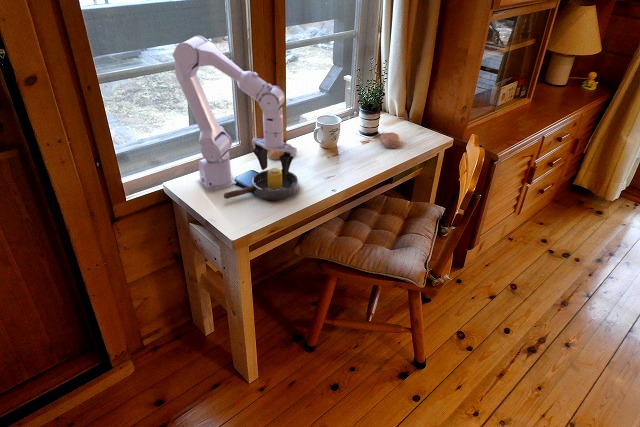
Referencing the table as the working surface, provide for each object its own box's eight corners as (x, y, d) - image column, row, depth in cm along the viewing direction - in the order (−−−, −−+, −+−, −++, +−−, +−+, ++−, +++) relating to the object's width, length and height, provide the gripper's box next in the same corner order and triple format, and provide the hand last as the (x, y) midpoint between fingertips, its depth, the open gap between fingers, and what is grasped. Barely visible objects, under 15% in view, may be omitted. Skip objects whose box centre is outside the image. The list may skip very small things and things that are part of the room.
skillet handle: (225, 200, 139) (224, 195, 138) (222, 197, 140) (222, 192, 139) (258, 191, 144) (258, 186, 143) (256, 188, 145) (255, 183, 144)
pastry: (274, 163, 163) (274, 153, 161) (263, 156, 168) (263, 146, 165) (296, 156, 168) (296, 146, 166) (285, 149, 173) (285, 140, 170)
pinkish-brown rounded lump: (373, 141, 180) (382, 144, 173) (380, 126, 179) (389, 129, 172) (389, 149, 183) (398, 152, 176) (396, 134, 182) (406, 137, 175)
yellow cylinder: (272, 193, 145) (271, 174, 142) (265, 187, 148) (264, 168, 145) (284, 190, 147) (284, 171, 144) (278, 183, 150) (277, 165, 147)
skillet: (265, 206, 140) (264, 195, 138) (245, 185, 150) (244, 175, 148) (305, 194, 146) (305, 184, 144) (284, 175, 156) (284, 165, 154)
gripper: (301, 130, 137) (301, 171, 145) (260, 120, 143) (262, 160, 150) (289, 139, 132) (289, 181, 139) (246, 128, 138) (249, 169, 145)
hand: (274, 171), depth 145 cm, fingers open, 7 cm apart
